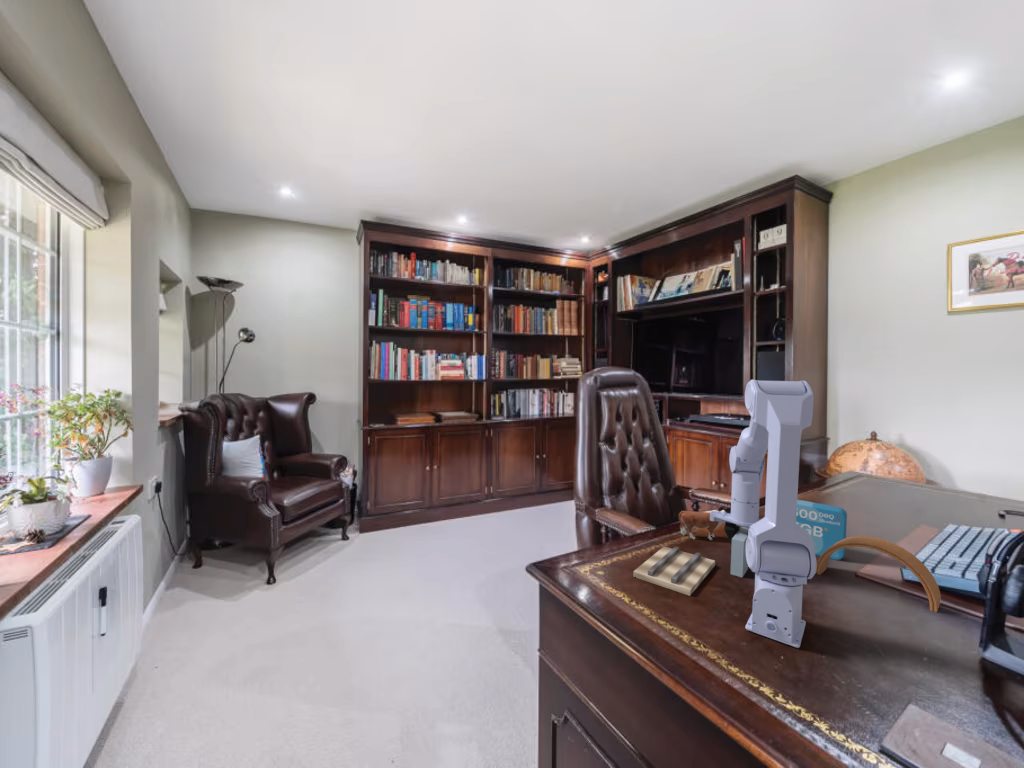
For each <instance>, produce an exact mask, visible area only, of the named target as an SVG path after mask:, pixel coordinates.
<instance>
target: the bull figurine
mask: <svg viewBox="0 0 1024 768" xmlns="http://www.w3.org/2000/svg"><path fill="white" fill-rule="evenodd" d="M712 511H715V512H722V513H728V512H727V511H726V510H725V509H722V510H717V509H713V510H707V511H693V510H692V511H691V510H681V511H680V512H679V513H678V521H679V522H680V525H679V529H680V534H681V535H682V536H686V534H689V537H690V539H693V540H697V538H696V536H695V535H694V534H693V532H692V528H695V530H696V531H699V529H707V530H708V535H707V540H708V539H709V541H713V538H716V536H715V534H714V531H715V530H717V529H718V528H719V527H720V526H722V524H724V523H723V522H718V521H710V513H711V512H712ZM711 536H712V537H711Z"/></svg>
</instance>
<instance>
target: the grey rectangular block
mask: <svg viewBox="0 0 1024 768" xmlns="http://www.w3.org/2000/svg"><path fill="white" fill-rule="evenodd" d="M748 530H749V528H745V527H740V530H739V531H738V532H737V533H736V534H735V536H734V537H733V538H732V546H731V545H730V548H731V549H730V550H731V552H730V554H731V555H730V575H732V576H735V577H736V576H737V577H739V578H743V577H744V576H745V574H746V573H747V571H748V570H749V568H748V564H747V560H746V551H745V548H746V540H747V538H748Z"/></svg>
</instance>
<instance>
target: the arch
mask: <svg viewBox="0 0 1024 768" xmlns="http://www.w3.org/2000/svg"><path fill="white" fill-rule="evenodd" d="M852 547H853V548H854V547H855V548H866V549H871V550H874V551H878V552H880V553H883V554H885V555H887V556H889V557H891V558H892V559H895V560H896V561H898V562H899V563H901V564H903V566H905V567H906V568H907V569H908V570H910V572H911V573H912V574H913V575H914V576H915V577H916V578H917V579H918V581H919V582H920V584H921V585H922V586H923V589H924V591H925V593H926V595H927V599H928V602H929V611H931V612H934V611H935V612H934V613H936V612H937V613H938V610H939V609H938V608H940V607H939V604H940V600H941V601H942V595H941V590H940V587H939V585H938V582H937V581H936V579H935V577H934V575H933V574H932V572H930V570H929V568H928V567H927V566H926V565H925V564H924V563H923V561H922V560H920V559H919V558H918V557H916V556H915V555H914V554H912V553H911V552H910V551H908V550H906V549H905V548H904V547H902V546H900V545H898V544H896V543H893V542H892V541H888V540H886V539H882V538H878V537H875V536H874V537H873V536H864V535H861V536H850V537H846V538H845V539H843V540H841V541H838V542H837V543H835V544H834V545H832V546H831V547H830V548H829V549H827V550H826V551H825V552H824V553H823V554H822V555H821V556H818V559H817V560H816V561H817V568H816V573H815V574H817V575H822V574H823V573H824V572H825V571H826V570H827V569H828V564H829V561H830V559H831V558H830V557H831V555H832V554H833V553H834V552H835V551H837V550H839V549H842V548H845V549H846V548H852ZM940 605H941V604H940Z"/></svg>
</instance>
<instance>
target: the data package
mask: <svg viewBox="0 0 1024 768" xmlns="http://www.w3.org/2000/svg"><path fill="white" fill-rule="evenodd" d="M796 524H798V525H799V526H800V527H802V528H803V529H804V530H805V531H807V532H808V533H809V534H810V535H811V537H812V539H813V541H814V543H815V555H816V556H818V557H820V556H821V555H822V554H823V553H824V552H825V551H826V550H827V549H829V548H830V547H831V546H832V545H834V544H835V543H837V542H838V541H841V540H843V539H845V538H847V524H848V512H847V511H846V510H845V509H844V508H843V507H839V506H834V505H830V504H829V505H828V504H824V503H817V502H813V501H807V500H801V499H797V514H796ZM845 552H846V548H842V549H839V550H837V551H835V552H834V553H833V554H832V555H831V557H830V558H829V559H831V560H836V561H839V560H842V559H843V558H844V557H845Z"/></svg>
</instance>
